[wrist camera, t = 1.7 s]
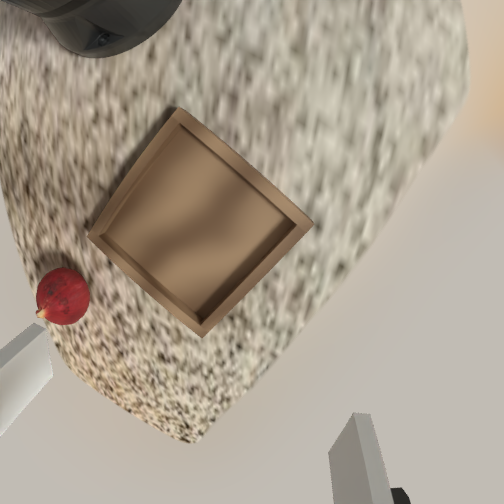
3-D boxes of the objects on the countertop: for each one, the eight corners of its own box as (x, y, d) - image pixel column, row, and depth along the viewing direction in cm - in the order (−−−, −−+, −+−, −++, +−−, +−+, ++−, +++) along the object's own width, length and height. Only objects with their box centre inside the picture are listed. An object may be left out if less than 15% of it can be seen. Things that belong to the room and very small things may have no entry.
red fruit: (69, 248, 31) (23, 272, 23) (108, 277, 31) (67, 309, 23) (57, 289, 32) (15, 317, 24) (93, 316, 33) (56, 352, 25)
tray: (96, 232, 30) (86, 236, 28) (185, 110, 26) (178, 106, 24) (206, 328, 32) (202, 338, 30) (311, 220, 28) (314, 224, 26)
